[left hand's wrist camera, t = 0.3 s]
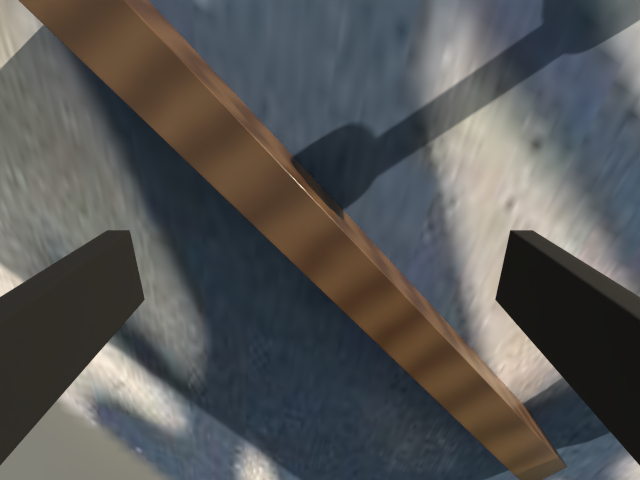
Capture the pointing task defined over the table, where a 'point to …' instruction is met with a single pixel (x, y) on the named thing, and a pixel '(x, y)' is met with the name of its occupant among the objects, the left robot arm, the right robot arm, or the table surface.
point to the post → (293, 213)
